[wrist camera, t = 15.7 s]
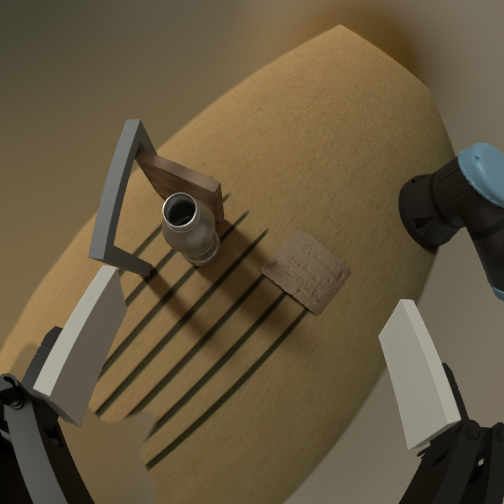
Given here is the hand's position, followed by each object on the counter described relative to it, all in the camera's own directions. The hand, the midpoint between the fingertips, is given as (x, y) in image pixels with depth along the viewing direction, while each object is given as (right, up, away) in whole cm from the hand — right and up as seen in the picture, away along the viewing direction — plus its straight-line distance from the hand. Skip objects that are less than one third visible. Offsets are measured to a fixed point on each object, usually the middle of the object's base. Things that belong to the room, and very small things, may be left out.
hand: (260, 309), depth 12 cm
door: (-11, +11, +35) cm, 38 cm away
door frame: (-18, +7, +35) cm, 39 cm away
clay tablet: (+9, -1, +35) cm, 36 cm away
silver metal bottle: (-9, +3, +35) cm, 36 cm away
